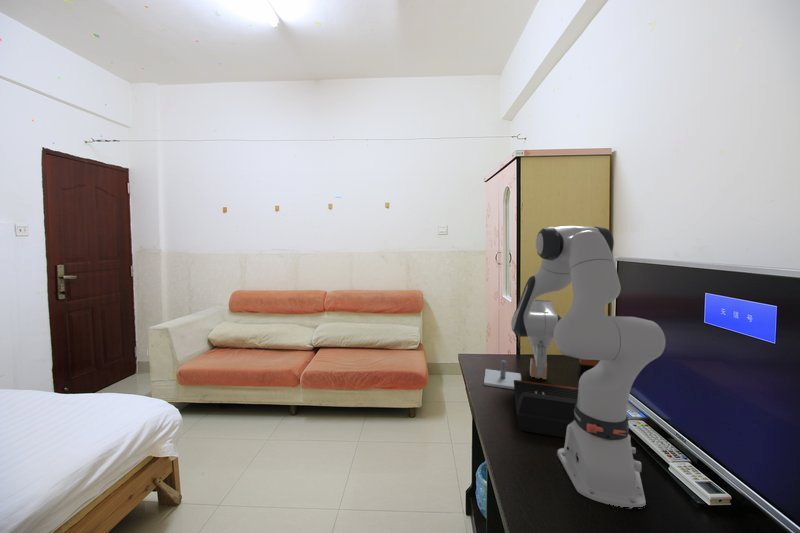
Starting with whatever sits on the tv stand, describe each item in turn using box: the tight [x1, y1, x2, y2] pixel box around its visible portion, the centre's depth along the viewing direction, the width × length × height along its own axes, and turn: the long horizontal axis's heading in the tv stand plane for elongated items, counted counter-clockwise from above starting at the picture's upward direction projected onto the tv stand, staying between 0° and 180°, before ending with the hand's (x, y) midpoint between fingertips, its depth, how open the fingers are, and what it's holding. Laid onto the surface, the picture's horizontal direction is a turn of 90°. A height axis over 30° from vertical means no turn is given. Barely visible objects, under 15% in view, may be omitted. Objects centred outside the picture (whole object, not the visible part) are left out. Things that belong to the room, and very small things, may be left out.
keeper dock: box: [483, 359, 522, 390], centre depth 140 cm, size 14×14×8 cm
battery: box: [577, 358, 600, 377], centre depth 145 cm, size 4×7×10 cm, turn 75°
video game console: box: [513, 380, 578, 439], centre depth 113 cm, size 28×25×10 cm
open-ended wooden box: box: [529, 357, 548, 380], centre depth 145 cm, size 6×6×6 cm
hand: (538, 370), depth 145 cm, fingers open, 8 cm apart
